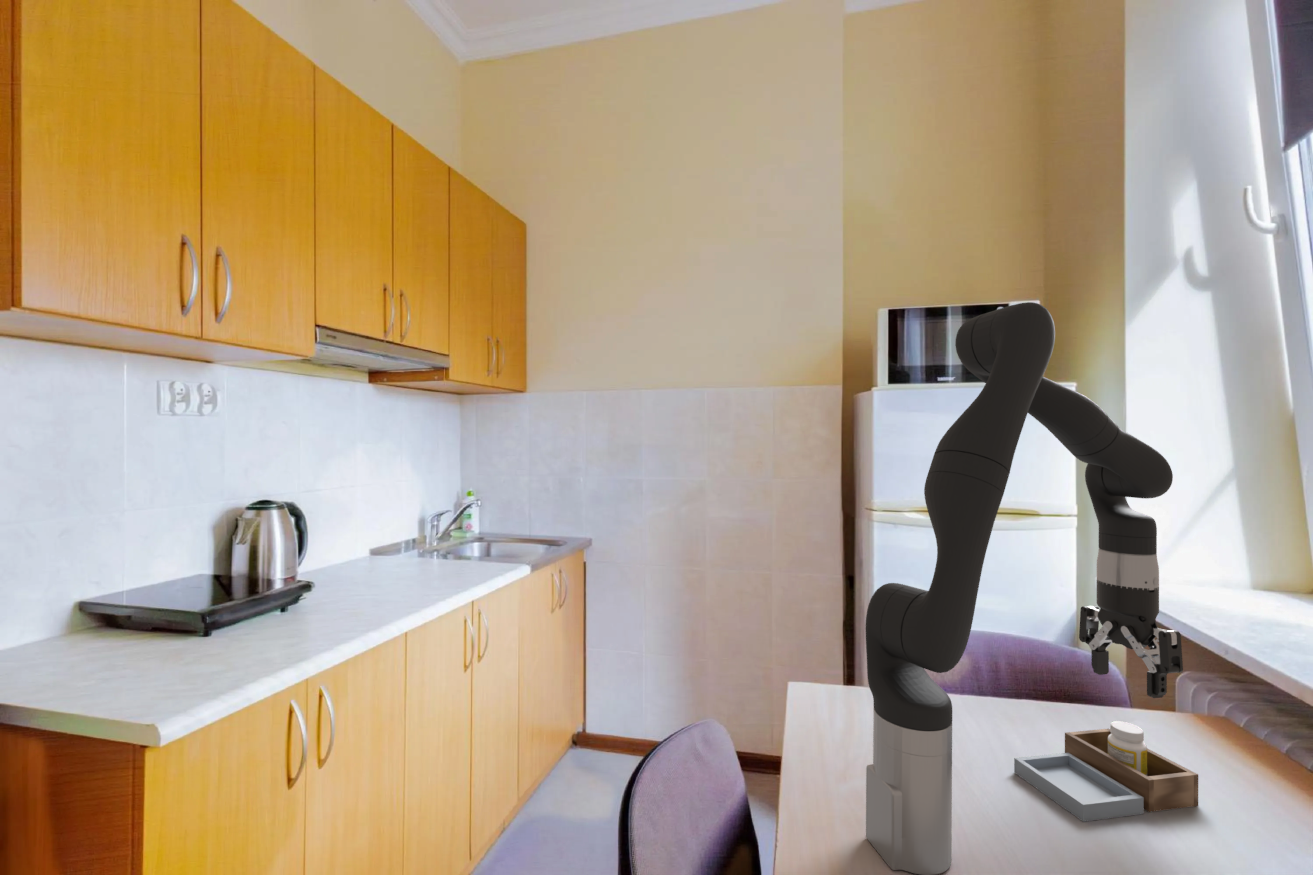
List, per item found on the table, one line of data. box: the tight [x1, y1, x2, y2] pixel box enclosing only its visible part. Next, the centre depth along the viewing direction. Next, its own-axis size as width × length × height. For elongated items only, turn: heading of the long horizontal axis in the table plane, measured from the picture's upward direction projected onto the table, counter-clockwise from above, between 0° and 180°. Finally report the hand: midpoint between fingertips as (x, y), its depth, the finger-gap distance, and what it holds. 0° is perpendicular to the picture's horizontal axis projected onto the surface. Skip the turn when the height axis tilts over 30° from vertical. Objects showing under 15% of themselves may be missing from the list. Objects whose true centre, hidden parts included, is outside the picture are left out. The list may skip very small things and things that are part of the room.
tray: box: [1013, 752, 1144, 823], centre depth 86 cm, size 10×12×2 cm
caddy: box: [1064, 728, 1199, 813], centre depth 89 cm, size 9×14×4 cm, turn 11°
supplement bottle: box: [1108, 720, 1148, 776], centre depth 89 cm, size 5×5×8 cm
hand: (1127, 684), depth 89 cm, fingers open, 8 cm apart
